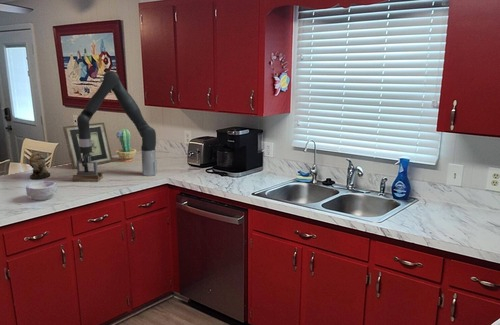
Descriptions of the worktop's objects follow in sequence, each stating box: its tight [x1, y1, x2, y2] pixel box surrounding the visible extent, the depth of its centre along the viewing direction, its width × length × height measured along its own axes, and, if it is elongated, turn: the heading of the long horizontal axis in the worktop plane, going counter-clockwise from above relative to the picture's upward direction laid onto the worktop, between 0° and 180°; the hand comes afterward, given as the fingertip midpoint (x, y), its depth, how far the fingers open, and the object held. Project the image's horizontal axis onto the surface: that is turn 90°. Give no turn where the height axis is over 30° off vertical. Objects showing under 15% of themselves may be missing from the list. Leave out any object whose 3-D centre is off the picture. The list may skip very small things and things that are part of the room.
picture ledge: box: [72, 171, 104, 183], centre depth 268 cm, size 10×16×4 cm, turn 93°
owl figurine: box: [28, 151, 51, 180], centre depth 273 cm, size 18×12×17 cm, turn 17°
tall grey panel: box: [76, 162, 99, 175], centre depth 267 cm, size 3×12×9 cm, turn 93°
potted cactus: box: [116, 128, 137, 163], centre depth 323 cm, size 15×15×25 cm
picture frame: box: [62, 122, 114, 169], centre depth 307 cm, size 33×10×30 cm, turn 143°
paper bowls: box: [25, 180, 58, 201], centre depth 229 cm, size 15×15×8 cm
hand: (87, 171), depth 267 cm, fingers closed on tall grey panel, 3 cm apart
